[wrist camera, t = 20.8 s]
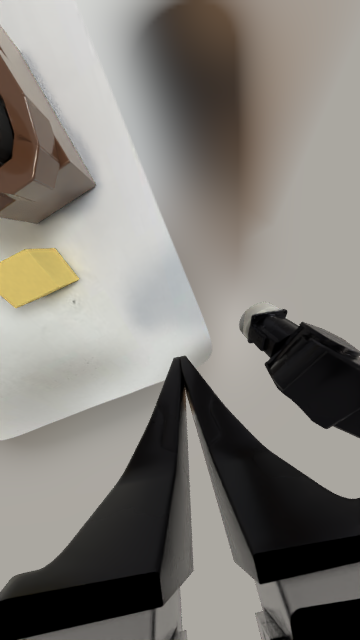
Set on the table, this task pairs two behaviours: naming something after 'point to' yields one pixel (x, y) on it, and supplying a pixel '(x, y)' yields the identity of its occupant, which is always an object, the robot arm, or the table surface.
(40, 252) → the yellow block
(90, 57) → the table surface
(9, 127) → the dark grey short cylinder
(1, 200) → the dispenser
